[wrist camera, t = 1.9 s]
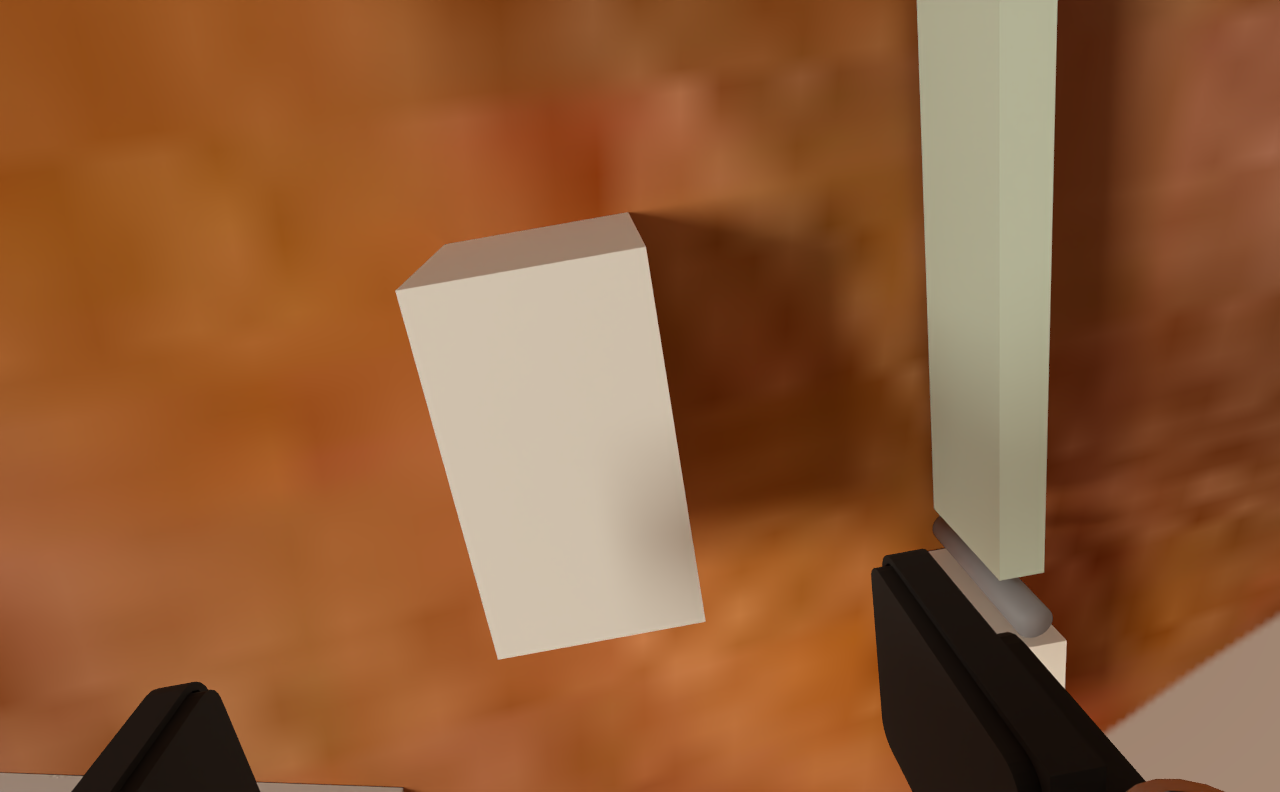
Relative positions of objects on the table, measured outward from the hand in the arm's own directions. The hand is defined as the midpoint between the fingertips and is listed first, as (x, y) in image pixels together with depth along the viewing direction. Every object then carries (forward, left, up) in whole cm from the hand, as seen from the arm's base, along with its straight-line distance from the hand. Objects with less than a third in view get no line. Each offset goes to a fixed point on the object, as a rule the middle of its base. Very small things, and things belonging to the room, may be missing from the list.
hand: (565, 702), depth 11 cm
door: (-3, +11, -12) cm, 17 cm away
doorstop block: (-1, 0, -12) cm, 12 cm away
